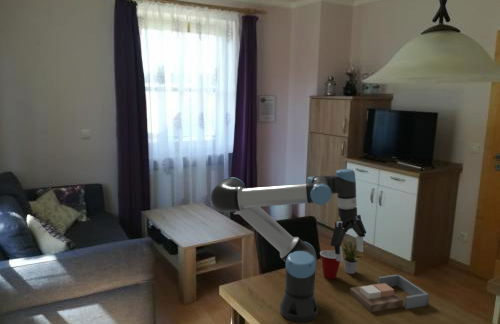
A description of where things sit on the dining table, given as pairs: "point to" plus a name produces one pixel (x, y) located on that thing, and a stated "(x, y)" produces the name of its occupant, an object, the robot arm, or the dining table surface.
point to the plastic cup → (329, 264)
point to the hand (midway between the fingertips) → (350, 256)
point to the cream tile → (370, 292)
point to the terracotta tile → (384, 289)
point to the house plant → (350, 258)
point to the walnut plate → (376, 300)
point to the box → (407, 290)
